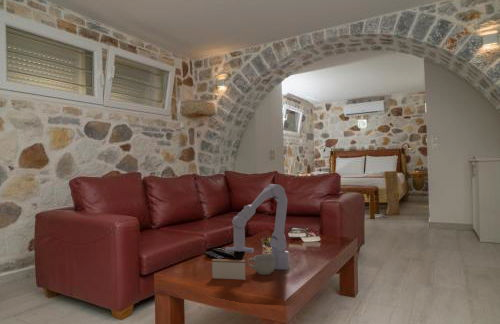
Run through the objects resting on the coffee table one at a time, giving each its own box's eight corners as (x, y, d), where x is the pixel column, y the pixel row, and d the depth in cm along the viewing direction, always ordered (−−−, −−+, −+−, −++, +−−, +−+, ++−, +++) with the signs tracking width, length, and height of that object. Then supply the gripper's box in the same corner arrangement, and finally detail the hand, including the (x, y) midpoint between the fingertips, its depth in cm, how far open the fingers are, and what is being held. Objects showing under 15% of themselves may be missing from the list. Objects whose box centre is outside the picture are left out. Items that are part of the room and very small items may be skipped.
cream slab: (245, 278, 160) (245, 260, 160) (245, 279, 158) (244, 261, 158) (213, 277, 163) (212, 259, 163) (211, 278, 161) (211, 260, 161)
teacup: (277, 270, 171) (276, 254, 171) (273, 277, 161) (272, 260, 161) (250, 268, 175) (250, 253, 175) (245, 275, 164) (245, 259, 164)
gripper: (254, 238, 172) (254, 264, 172) (227, 237, 175) (227, 263, 175) (252, 241, 165) (252, 268, 165) (223, 240, 168) (224, 267, 168)
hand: (239, 266), depth 169 cm, fingers closed
